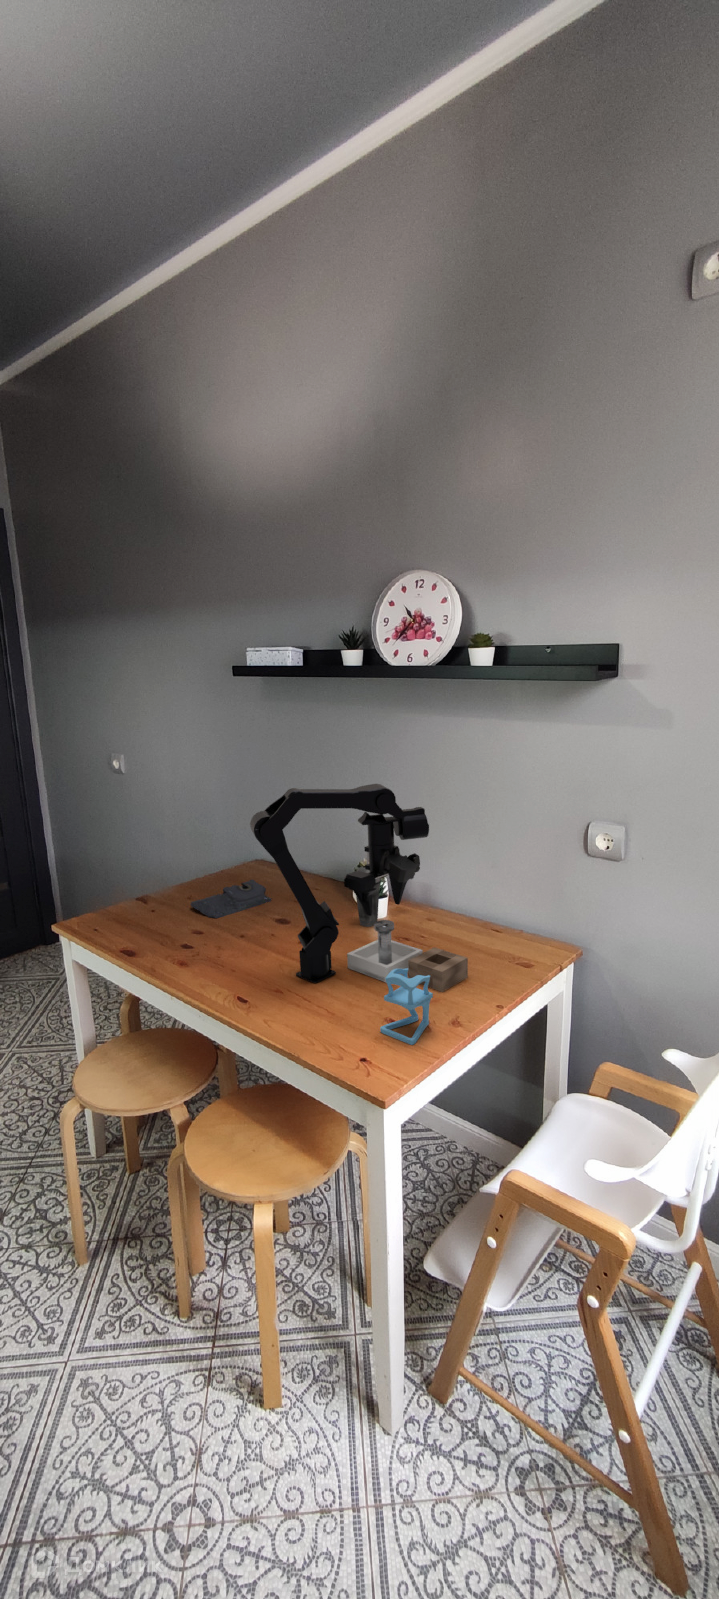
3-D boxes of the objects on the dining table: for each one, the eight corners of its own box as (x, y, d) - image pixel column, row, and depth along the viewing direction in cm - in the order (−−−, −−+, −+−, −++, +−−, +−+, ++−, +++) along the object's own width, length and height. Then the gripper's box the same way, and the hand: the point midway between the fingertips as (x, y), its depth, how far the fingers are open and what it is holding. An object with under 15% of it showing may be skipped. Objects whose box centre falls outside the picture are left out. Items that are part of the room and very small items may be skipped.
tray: (387, 983, 156) (387, 967, 156) (347, 968, 165) (347, 953, 164) (423, 964, 165) (422, 950, 164) (383, 951, 173) (382, 937, 172)
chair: (439, 1027, 137) (438, 967, 135) (412, 1045, 131) (410, 983, 129) (407, 1014, 143) (405, 957, 140) (379, 1032, 137) (377, 972, 134)
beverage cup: (349, 926, 189) (346, 851, 186) (362, 916, 196) (359, 844, 192) (374, 930, 186) (372, 854, 182) (387, 920, 192) (384, 847, 188)
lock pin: (386, 968, 161) (384, 928, 160) (371, 962, 164) (370, 924, 163) (399, 961, 165) (398, 922, 163) (384, 956, 168) (383, 918, 166)
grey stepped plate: (183, 909, 208) (182, 893, 208) (246, 890, 224) (245, 875, 223) (213, 922, 198) (212, 905, 197) (277, 900, 213) (276, 885, 212)
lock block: (442, 992, 151) (441, 971, 150) (408, 979, 157) (408, 960, 157) (467, 977, 158) (467, 957, 157) (434, 966, 164) (434, 947, 163)
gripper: (379, 857, 148) (381, 930, 151) (436, 838, 161) (438, 906, 164) (340, 849, 156) (344, 918, 159) (398, 831, 169) (400, 896, 172)
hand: (383, 909), depth 163 cm, fingers open, 9 cm apart
